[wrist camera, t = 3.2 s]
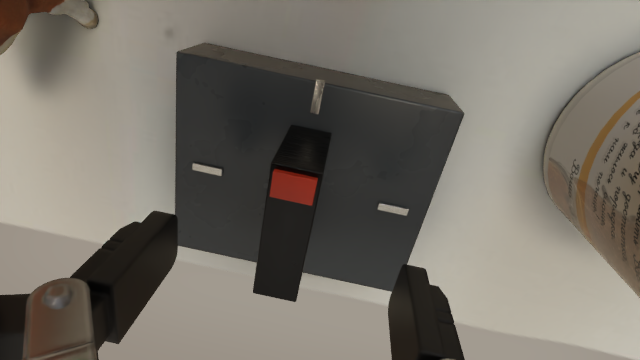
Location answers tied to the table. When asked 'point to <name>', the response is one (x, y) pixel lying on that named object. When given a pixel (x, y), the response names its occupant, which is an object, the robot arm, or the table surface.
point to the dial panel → (341, 165)
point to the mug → (601, 166)
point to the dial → (290, 211)
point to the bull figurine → (17, 3)
